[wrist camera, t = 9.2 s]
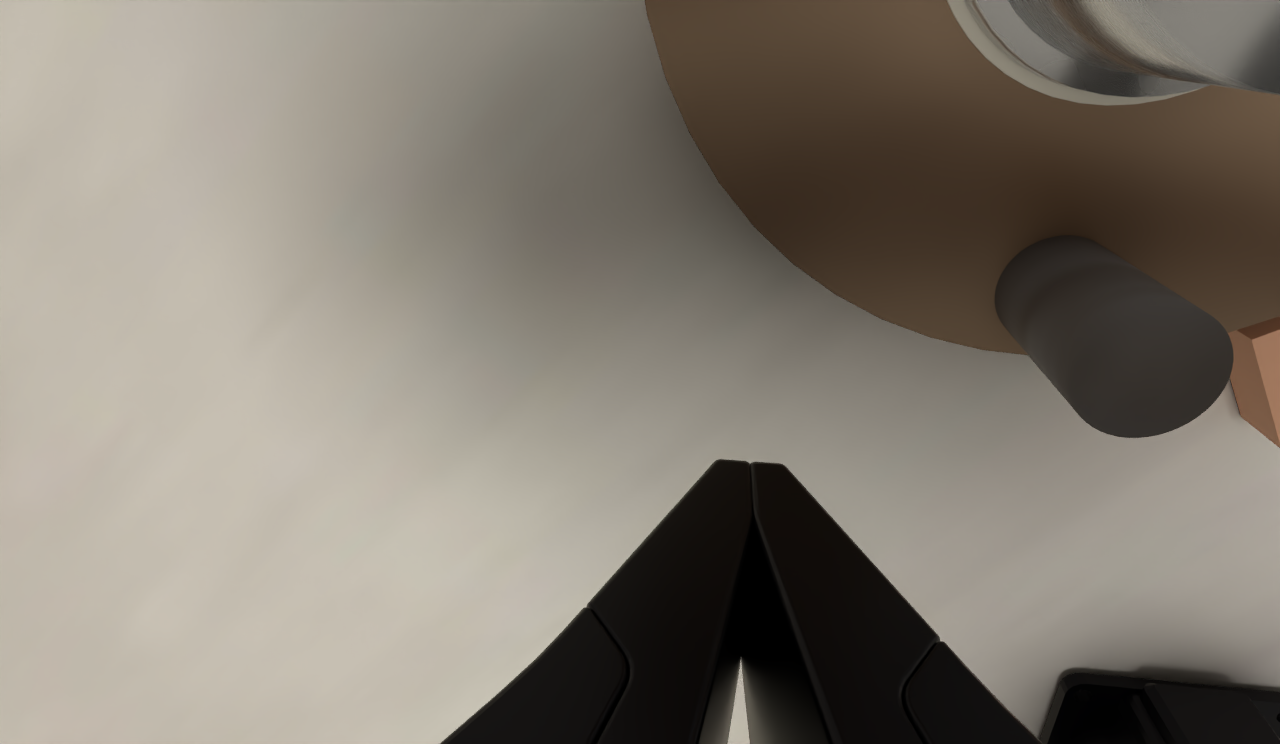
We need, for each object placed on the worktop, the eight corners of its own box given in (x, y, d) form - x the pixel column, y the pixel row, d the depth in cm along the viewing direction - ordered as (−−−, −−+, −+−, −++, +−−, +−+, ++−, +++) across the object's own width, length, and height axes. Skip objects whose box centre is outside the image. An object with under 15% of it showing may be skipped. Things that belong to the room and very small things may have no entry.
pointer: (1287, 401, 18) (1332, 432, 16) (1241, 416, 18) (1281, 448, 17) (1260, 295, 17) (1305, 319, 15) (1211, 314, 17) (1251, 339, 16)
